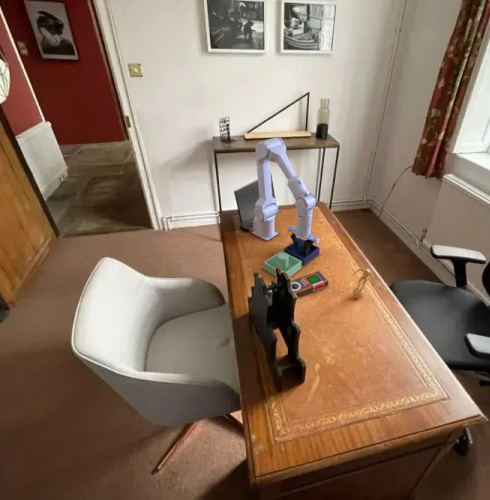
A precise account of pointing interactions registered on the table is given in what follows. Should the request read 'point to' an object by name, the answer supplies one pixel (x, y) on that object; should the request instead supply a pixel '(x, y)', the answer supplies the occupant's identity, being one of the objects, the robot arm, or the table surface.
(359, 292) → the figurine
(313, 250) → the navy tub
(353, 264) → the table surface
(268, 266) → the mint tub
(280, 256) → the mint peg
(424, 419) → the table surface
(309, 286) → the electronic device
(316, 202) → the robot arm
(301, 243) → the navy peg
